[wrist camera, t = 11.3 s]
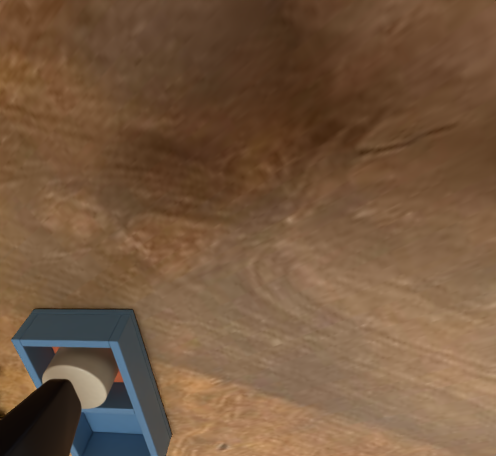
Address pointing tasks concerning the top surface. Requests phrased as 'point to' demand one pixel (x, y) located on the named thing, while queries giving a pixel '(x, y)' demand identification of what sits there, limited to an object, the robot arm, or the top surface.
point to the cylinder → (85, 372)
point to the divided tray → (124, 386)
